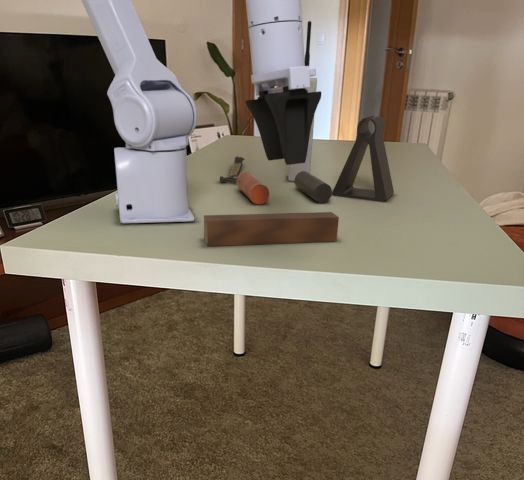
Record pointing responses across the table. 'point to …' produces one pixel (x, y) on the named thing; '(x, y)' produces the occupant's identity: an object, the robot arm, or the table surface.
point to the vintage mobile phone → (297, 168)
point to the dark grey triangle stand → (378, 162)
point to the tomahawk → (233, 170)
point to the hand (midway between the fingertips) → (285, 161)
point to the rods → (302, 181)
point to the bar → (270, 228)
